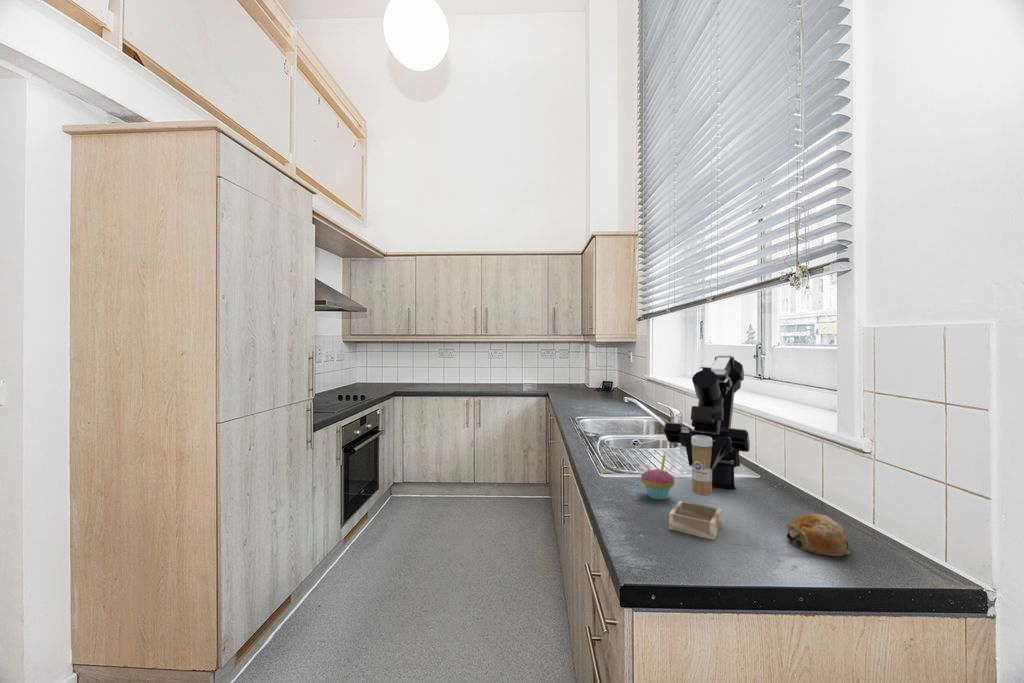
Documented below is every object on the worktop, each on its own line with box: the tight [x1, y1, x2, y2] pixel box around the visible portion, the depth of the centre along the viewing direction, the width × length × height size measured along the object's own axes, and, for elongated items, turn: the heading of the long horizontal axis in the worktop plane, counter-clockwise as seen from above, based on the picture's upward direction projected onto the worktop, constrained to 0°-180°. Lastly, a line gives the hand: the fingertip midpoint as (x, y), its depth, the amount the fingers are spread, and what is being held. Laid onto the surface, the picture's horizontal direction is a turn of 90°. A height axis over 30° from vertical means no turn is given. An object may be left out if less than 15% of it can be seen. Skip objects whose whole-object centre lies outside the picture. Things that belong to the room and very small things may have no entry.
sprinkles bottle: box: [691, 435, 714, 497], centre depth 101 cm, size 5×5×14 cm
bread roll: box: [786, 513, 851, 557], centre depth 86 cm, size 10×10×8 cm
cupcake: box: [640, 451, 675, 500], centre depth 113 cm, size 9×8×12 cm
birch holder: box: [668, 500, 723, 541], centre depth 95 cm, size 9×9×4 cm
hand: (700, 466), depth 100 cm, fingers closed on sprinkles bottle, 4 cm apart
